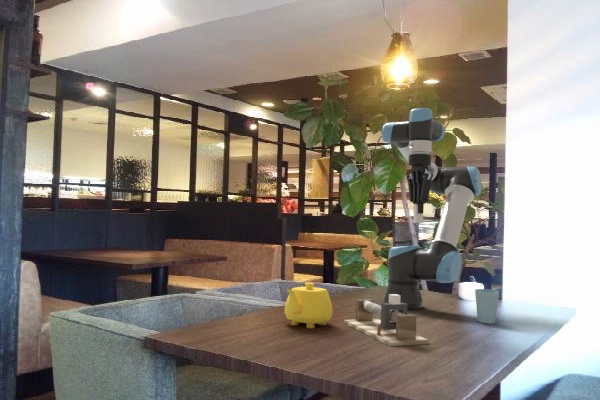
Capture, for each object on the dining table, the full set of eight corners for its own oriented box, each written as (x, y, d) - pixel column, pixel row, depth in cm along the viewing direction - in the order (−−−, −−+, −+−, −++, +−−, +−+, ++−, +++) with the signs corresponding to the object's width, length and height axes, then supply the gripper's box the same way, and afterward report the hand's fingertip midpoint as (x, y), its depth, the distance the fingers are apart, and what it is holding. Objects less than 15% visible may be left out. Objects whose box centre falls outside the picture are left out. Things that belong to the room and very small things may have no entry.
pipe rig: (344, 323, 165) (344, 299, 165) (377, 321, 169) (378, 298, 170) (389, 346, 138) (390, 317, 138) (428, 343, 142) (429, 315, 142)
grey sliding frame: (380, 328, 148) (381, 294, 148) (402, 327, 150) (403, 293, 151) (384, 329, 146) (385, 295, 146) (406, 328, 148) (407, 295, 148)
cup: (503, 323, 173) (504, 291, 173) (486, 324, 170) (486, 292, 170) (487, 319, 180) (487, 288, 180) (469, 320, 177) (470, 289, 177)
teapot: (341, 323, 165) (343, 282, 165) (304, 334, 149) (305, 289, 149) (306, 317, 173) (307, 278, 173) (267, 326, 157) (268, 283, 157)
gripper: (400, 155, 184) (398, 222, 183) (421, 151, 171) (419, 223, 171) (418, 156, 186) (417, 222, 186) (440, 153, 174) (438, 224, 173)
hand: (418, 223), depth 178 cm, fingers closed
